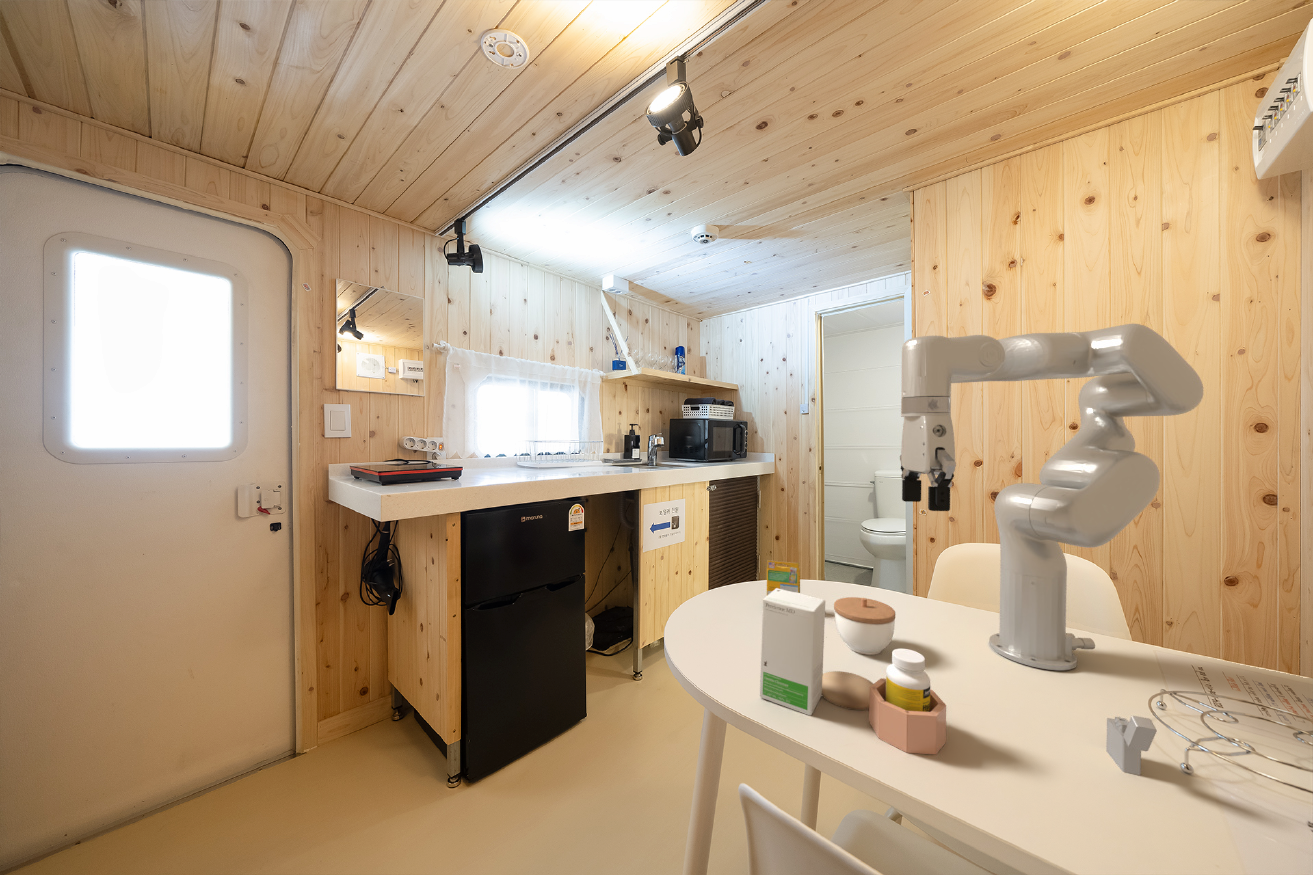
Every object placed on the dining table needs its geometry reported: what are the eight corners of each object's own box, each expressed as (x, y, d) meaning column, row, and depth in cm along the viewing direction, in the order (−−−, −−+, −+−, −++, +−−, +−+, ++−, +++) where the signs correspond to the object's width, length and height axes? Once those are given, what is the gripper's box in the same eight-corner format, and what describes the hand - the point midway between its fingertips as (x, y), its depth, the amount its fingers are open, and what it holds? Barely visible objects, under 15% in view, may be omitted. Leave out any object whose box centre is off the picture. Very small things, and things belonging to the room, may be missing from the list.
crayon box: (800, 609, 106) (800, 559, 106) (799, 614, 103) (799, 563, 103) (768, 605, 109) (768, 556, 108) (766, 610, 106) (766, 560, 106)
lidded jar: (881, 635, 93) (882, 589, 93) (905, 662, 82) (905, 610, 82) (827, 633, 94) (827, 587, 94) (843, 659, 83) (843, 608, 83)
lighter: (1105, 749, 60) (1106, 689, 60) (1123, 753, 59) (1124, 692, 59) (1135, 788, 53) (1137, 720, 53) (1156, 793, 53) (1157, 724, 52)
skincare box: (758, 698, 71) (759, 598, 71) (773, 679, 77) (774, 586, 76) (813, 717, 67) (814, 610, 66) (825, 695, 72) (826, 596, 72)
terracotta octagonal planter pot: (923, 714, 67) (923, 680, 67) (956, 755, 59) (956, 716, 59) (862, 710, 68) (863, 677, 68) (886, 751, 59) (886, 713, 59)
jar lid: (866, 678, 77) (866, 672, 77) (888, 711, 68) (889, 704, 68) (811, 675, 78) (811, 669, 78) (826, 708, 69) (826, 701, 69)
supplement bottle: (930, 743, 60) (931, 669, 60) (884, 729, 63) (884, 658, 62) (929, 719, 65) (930, 651, 64) (886, 708, 67) (886, 642, 67)
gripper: (978, 405, 71) (976, 515, 72) (923, 410, 89) (922, 498, 89) (927, 406, 72) (926, 514, 72) (883, 410, 89) (882, 498, 90)
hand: (924, 505), depth 81 cm, fingers open, 9 cm apart
